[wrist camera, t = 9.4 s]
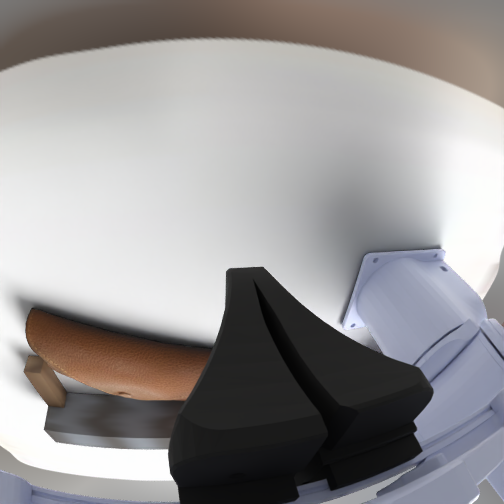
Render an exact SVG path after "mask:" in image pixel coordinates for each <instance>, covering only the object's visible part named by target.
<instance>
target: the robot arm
mask: <svg viewBox="0 0 504 504" xmlns="http://www.w3.org/2000/svg"><path fill="white" fill-rule="evenodd" d="M444 257H445V251H444V250H443V249H430V250H413V251H395V252H378V253H368V254H366V255H365V256H364V258H363V262H362V265H361V268H360V272H359V275H358V278H357V281H356V285H355V288H354V291H353V294H352V297H351V300H350V303H349V306H348V309H347V312H346V315H345V318H344V321H343V323H342V327H343V329H344V330H349V329H355V328H361V327H367V328H368V330H369V332H370V333H371V335H372V336H373V338H374V340H375V341H376V343H377V344H378V346H379V348H380V349H381V351H382V352H383V354H384V355H383V354H381V353H378V352H376V351H374V350H372V349H370V348H368V347H365V346H363V345H361V344H360V343H358V342H356V341H354V340H352V339H351V338H349V337H347V336H345V335H344V334H342V333H340V332H339V331H337V330H336V329H334V328H333V327H331V326H330V325H328V324H327V323H325V322H324V321H322V320H321V319H320V318H318V317H317V316H316V315H314V314H313V313H312V312H311V311H310V310H308V309H307V308H306V307H305V306H303V305H302V304H301V303H300V302H299V301H298V300H297V299H295V298H294V297H293V296H292V295H291V294H290V293H289V292H288V291H287V290H286V289H285V288H284V287H283V286H282V285H281V284H280V283H279V282H278V281H277V280H276V279H275V278H274V277H273V276H272V275H271V274H270V273H269V272H268V271H267V270H266V269H265V268H264V267H248V268H230V269H228V270H227V271H226V300H225V311H224V315H223V319H222V323H221V326H220V330H219V333H218V336H217V339H216V341H215V344H214V347H213V349H212V351H211V354H210V356H209V359H208V361H207V363H206V365H205V367H204V369H203V371H202V373H201V375H200V377H199V379H198V381H197V382H196V384H195V386H194V388H193V390H192V391H191V393H190V394H189V396H188V398H187V399H186V401H185V402H184V404H183V405H182V407H181V408H180V410H179V412H178V415H177V418H176V421H175V424H174V427H173V431H172V434H171V438H170V442H169V449H168V458H169V467H170V474H171V475H172V477H173V479H174V481H175V482H176V484H177V485H178V492H179V499H180V502H144V501H126V500H114V499H105V498H96V497H89V496H82V495H76V494H70V493H65V492H60V491H55V490H50V489H46V488H42V487H38V486H34V485H31V484H30V483H29V482H28V481H26V480H25V479H23V478H21V477H19V476H17V475H15V474H12V473H9V472H6V471H3V470H0V504H320V503H323V502H326V501H330V500H333V499H336V498H339V497H342V496H345V495H348V494H351V493H354V492H357V491H359V490H362V489H364V488H367V487H370V486H372V485H375V484H377V483H380V482H382V481H384V480H387V479H389V478H391V477H393V476H396V475H398V474H400V473H402V472H404V471H406V470H408V469H410V468H413V467H414V466H416V468H414V469H412V470H411V471H409V472H407V473H405V474H403V475H402V476H401V477H400V478H399V479H397V480H396V481H395V482H393V483H391V484H390V485H388V486H387V487H385V488H383V489H381V490H380V491H378V492H377V494H376V495H377V498H375V499H372V500H370V501H367V502H365V503H362V504H472V503H473V502H474V501H475V500H477V498H478V497H479V494H480V490H479V488H478V486H477V485H478V484H479V483H481V482H482V481H483V480H484V479H487V480H488V482H489V483H490V484H491V485H492V486H493V488H494V489H495V491H496V492H497V493H498V494H499V496H500V497H501V498H502V500H503V501H504V328H503V327H502V326H501V325H500V323H499V322H498V321H497V320H496V319H489V320H488V319H487V313H486V309H485V306H484V303H483V301H482V299H481V298H480V296H479V295H478V294H477V293H476V292H475V291H474V290H473V289H472V288H471V287H470V286H469V285H468V284H467V283H466V282H465V281H464V280H463V279H462V278H461V277H460V276H459V275H458V274H457V273H456V272H455V271H454V270H453V269H452V268H450V267H449V266H448V265H447V264H446V263H445V262H444V261H443V259H444ZM375 258H376V259H375ZM374 259H375V260H374Z"/></svg>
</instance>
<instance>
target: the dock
mask: <svg viewBox="0 0 504 504" xmlns="http://www.w3.org/2000/svg"><path fill="white" fill-rule="evenodd" d="M24 373H25V375H26V376H27V378H28V379H29V380H30V382H31V383H32V385H33V386H34V388H35V389H36V390H37V392H38V393H39V394H40V396H41V397H42V398H43V400H44V401H45V402H46V404H47V405H48V411H47V416H46V421H45V427H44V430H45V431H46V432H47V433H48V434H49V435H50V437H51V438H52V439H53V440H54V441H55V442H59V443H66V444H73V445H82V446H91V447H103V448H118V449H169V442H170V438H171V434H172V431H173V427H174V424H175V421H176V418H177V415H178V412H179V410H180V408H181V407H182V405H183V404H184V402H185V401H181V400H138V399H133V398H125V397H122V396H117V395H95V394H78V393H67V392H66V390H65V389H64V387H63V386H62V384H61V383H60V381H59V379H58V378H57V376H56V375H55V373H54V371H53V370H52V369H51V368H50V367H49V366H48V365H47V363H46V362H45V361H44V360H43V359H42V358H41V357H39V356H29V357H28V360H27V363H26V366H25V369H24Z"/></svg>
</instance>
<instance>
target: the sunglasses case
mask: <svg viewBox="0 0 504 504" xmlns="http://www.w3.org/2000/svg"><path fill="white" fill-rule="evenodd" d="M25 332H26V339H27V341H28V344H29V346H30V348H31V349H32V350H33V351H34V352H35V353H36V354H37V355H39V356H40V357H41V358H42V359H43V360H44V361H45V362H46V363H47V365H48V366H49V367H50V368H51V369H53V370H55V371H57V372H59V373H61V374H63V375H65V376H68V377H70V378H73V379H75V380H77V381H79V382H81V383H84V384H86V385H88V386H90V387H93V388H96V389H99V390H101V391H103V392H106V393H108V394H113V395H117V396H122V397H125V398H133V399H138V400H181V401H186V399H187V398H188V396H189V394H190V393H191V391H192V390H193V388H194V386H195V384H196V382H197V381H198V379H199V377H200V375H201V373H202V371H203V369H204V367H205V365H206V363H207V361H208V359H209V356H210V354H211V351H212V349H211V348H200V347H187V346H183V345H177V344H166V343H160V342H157V341H152V340H147V339H143V338H139V337H135V336H130V335H125V334H120V333H115V332H110V331H107V330H104V329H101V328H97V327H93V326H89V325H85V324H82V323H78V322H74V321H71V320H68V319H65V318H61V317H58V316H55V315H52V314H48V313H46V312H43V311H41V310H36V309H34V308H32V309H31V310H30V313H29V315H28V318H27V321H26V329H25Z"/></svg>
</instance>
